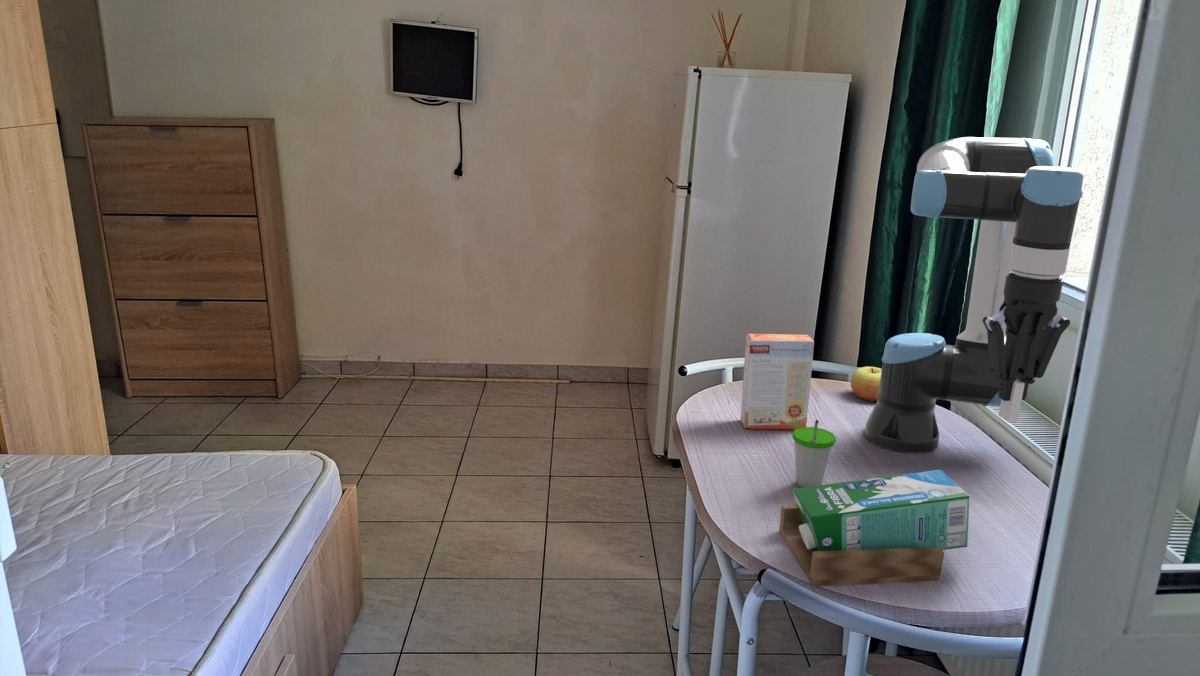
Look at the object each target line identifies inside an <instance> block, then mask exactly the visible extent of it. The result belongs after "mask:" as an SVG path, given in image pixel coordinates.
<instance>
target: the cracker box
mask: <svg viewBox="0 0 1200 676" xmlns="http://www.w3.org/2000/svg"><path fill="white" fill-rule="evenodd" d="M745 336H746V337H745V347H744V348H745V351H744V360H743V361H744V362H743V365H744V366H743V377H742V379H743V380H742V382H743V383H742V393H741V394H742V395H741V405H740V408H741V409H740V411H741V412H740V421H741V423H743V424H742V426H743V428H744V429H745V428H750V429H749V430H794V431H795V429H798V428H802V427H807V423H808V413H809V412H808V411H809V404H810V403H809V402H810V401H809V400H810V391H811V380H812V369H813V359H814V358H813V357H814V348H815V347H814V346H815V341H814V340H813V338H812V337H811V336H810V335H809V334H795V333H794V334H792V333H790V334H789V333H787V334H783V333H781V334H780V333H779V334H778V333H776V334H775V333H746V335H745Z"/></svg>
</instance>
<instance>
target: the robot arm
mask: <svg viewBox="0 0 1200 676" xmlns="http://www.w3.org/2000/svg"><path fill="white" fill-rule="evenodd" d="M1053 157H1054V156H1053V150H1052V148H1051V146H1050V144H1049V143H1048V142H1047V141H1045V140H1043V139H1035V138H1034V139H1033V138H1026V137H982V136H981V137H978V136H977V137H976V136H963V137H956V138H951V139H947V140H945V141H941V142H939V143H936V144H934V145H932V146H931V147H929V148H928V149H926V150H925V151H924V152H923V153H922V154H921V156H920V157H919V159H918V162H917V165H916V172H915V176H914V179H913V180H914V181H913V187H912V192H911V201H910V212H911V214H913V215H914V216H920V217H928V218H932V219H935V218H944V219H945V218H946V219H947V218H948V219H963V220H966V219H967V220H980V227H979V233H978V240H977V248H976V254H975V260H974V262H975V263H974V268H973V277H972V283H971V290H970V295H969V296H970V297H969V302H968V303H969V304H968V312H967V319H966V325H965V330H964V331H962V332H961V333H960V334H958V335H956V339H955V344H954V345H953V344H946V343H947V342H946V340H945V338H944V337H943V336H941V335H938V334H933V333H926V332H909V333H901V334H896V335H894V336H893V337H890V338H888V339H887V341H886V343H885V345H884V351H883V355H882V357H881V362H882V365H881V369H882V371H881V378H880V384H879V391H878V399H877V401H876V403H875V405H874V406H873V409H872V411H871V413H870V415H869V416H868V418H867V421H866V423H865V428H864V436H865V439H867V440H868V441H869V442H871V443H873V444H875V445H876V446H879V447H881V448H884V449H887V450H891V451H895V452H899V453H900V452H901V453H911V454H912V453H913V454H917V453H918V454H923V453H929V452H932V451H934V450H936V449H937V448H938V446H939V440H940V431H939V427H938V422H937V421H938V420H937V418H936V412H935V409H936V402H937V400H941V401H948V402H949V401H951V402H957V403H966V404H973V405H980V406H983V407H996V408H997V407H999V410H998V416H999V417H1000V418H1002V419H1003V420H1005V421H1006V422H1008V423H1017V422H1018V421H1019V415H1020V410H1021V406H1022V401H1025V400H1026V398H1027V395H1028V391H1029V385H1033V384H1035V382H1036V379H1037V378H1038V379H1041V378H1043V376H1044V374H1045V372H1046V370H1047V368H1048V366H1049V364H1050V361H1051V360H1052V357H1053V355H1054V352H1055V349H1056V347H1057V345H1058V343H1059V340H1060V339H1061V336H1062V334H1063V333H1064V332H1065V330H1067V328H1068V327H1069V326H1070V324H1071V320H1070V319H1069V318H1066V317H1064V316H1062V315H1061V314H1059V313H1058V306H1057V303H1058V302H1059V301H1060V298H1061V295H1062V290H1063V285H1064V279H1063V277H1062V276H1063V275H1065V273H1066V271H1067V267H1068V266H1067V265H1068V260H1069V256H1070V250H1071V242H1072V238H1073V233H1074V228H1075V223H1076V218H1077V214H1078V209H1079V205H1080V201H1081V199H1082V197H1083V191H1082V189H1083V184H1084V183H1083V182H1084V174H1083V172H1082V171H1081V170H1080V169H1077V168H1071V167H1065V166H1054V159H1053Z"/></svg>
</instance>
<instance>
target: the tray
mask: <svg viewBox="0 0 1200 676" xmlns="http://www.w3.org/2000/svg"><path fill="white" fill-rule="evenodd" d="M779 519H780V520H779V527H778V528H779V529H778V530H779V532H780V534H781V536H782V538H783V539H784V541H785V543H786V544H787V546H788V548H789V549H790V551H791V552H792V555H793V556H794V557H795V559H796V561H797V563H798V564H799V566H800V568H801V569H802V571H803V572H804V574H805V576H806V577H807V579H808V580H809V583H810V584H811V586H812V587H826V586H828V587H829V586H849V585H850V586H852V585H853V586H854V585H873V584H874V585H876V584H877V585H878V584H879V585H880V584H900V583H901V584H903V583H924V582H925V583H927V582H928V583H929V582H940V581H941V576H942V575H941V574H942V570H943V565H944V557H945V553H946V552H945V550H942V549H941V548H940V547H925V548H896V549H868V550H839V551H816V550H815V548H812V549H807V547H806V545H805V543H804V541H803V538H802V536H801V534H800V530H799V526H800V525H803V523H802V520H801V517H800V514H799V510H798V507H797V504H796V503H781V509H780V518H779Z"/></svg>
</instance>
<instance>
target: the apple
mask: <svg viewBox="0 0 1200 676" xmlns="http://www.w3.org/2000/svg"><path fill="white" fill-rule="evenodd" d="M881 371H882V368H880V367H876V366H863V367H862V366H861V367H859V368H857V369H856V370H855V371H853V373H852V375H851V378H850V387H851V390H852V392H853V394H854V395H856V396H857V397H858V398H859V399H862V400H864V401H868V402H877V399H878V391H879V384H880V378H881Z"/></svg>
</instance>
